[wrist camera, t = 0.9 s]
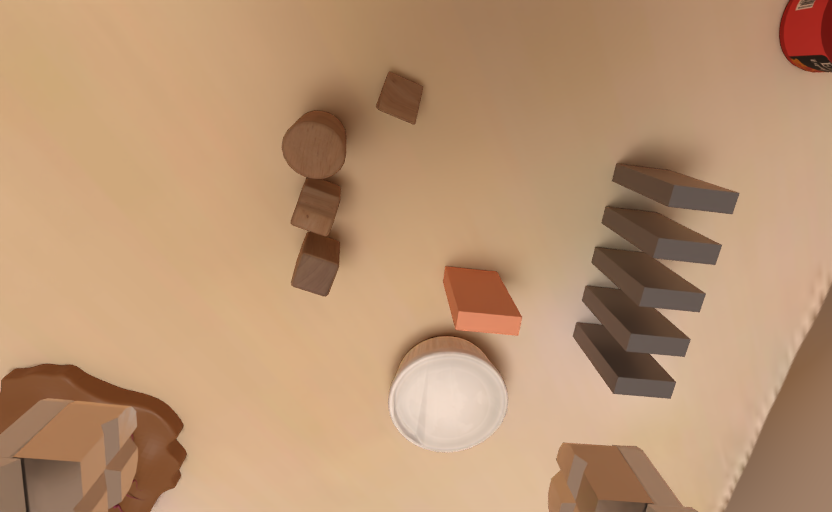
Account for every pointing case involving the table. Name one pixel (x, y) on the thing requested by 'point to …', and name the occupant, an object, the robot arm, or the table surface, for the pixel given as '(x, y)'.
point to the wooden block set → (318, 202)
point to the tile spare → (480, 302)
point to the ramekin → (447, 395)
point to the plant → (69, 382)
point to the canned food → (808, 34)
